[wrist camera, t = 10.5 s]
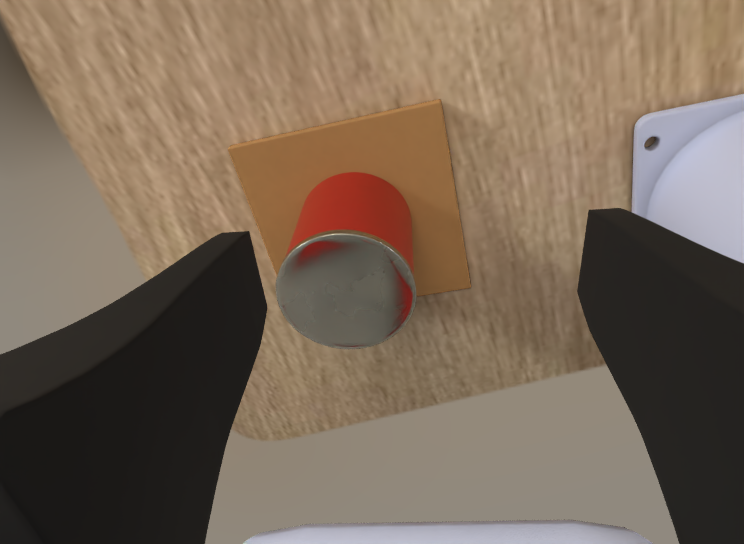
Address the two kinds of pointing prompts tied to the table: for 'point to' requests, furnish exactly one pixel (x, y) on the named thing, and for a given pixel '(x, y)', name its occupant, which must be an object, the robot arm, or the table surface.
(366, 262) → the tin
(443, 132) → the trivet
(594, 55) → the table surface
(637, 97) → the table surface
